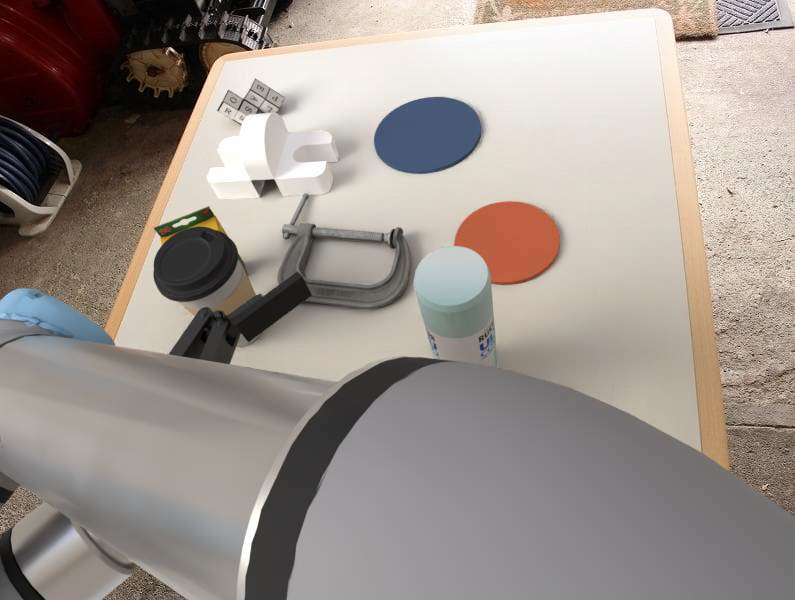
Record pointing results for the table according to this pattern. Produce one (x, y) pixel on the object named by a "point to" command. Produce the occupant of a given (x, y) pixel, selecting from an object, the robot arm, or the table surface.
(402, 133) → the slate-blue mat
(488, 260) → the terracotta mat
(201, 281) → the coffee cup
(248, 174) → the u-slot mount
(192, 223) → the crayon box
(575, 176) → the table surface
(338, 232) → the c clamp
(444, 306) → the pale blue cylinder
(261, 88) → the building blocks
